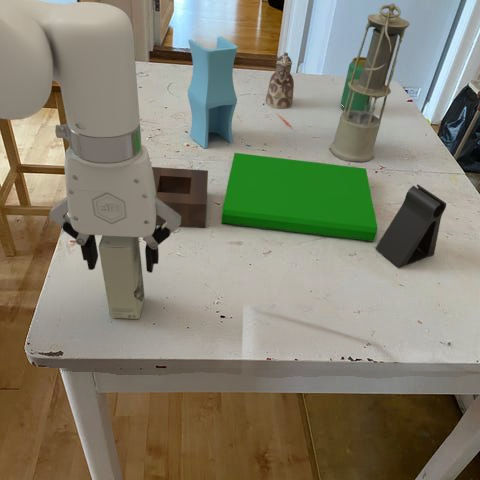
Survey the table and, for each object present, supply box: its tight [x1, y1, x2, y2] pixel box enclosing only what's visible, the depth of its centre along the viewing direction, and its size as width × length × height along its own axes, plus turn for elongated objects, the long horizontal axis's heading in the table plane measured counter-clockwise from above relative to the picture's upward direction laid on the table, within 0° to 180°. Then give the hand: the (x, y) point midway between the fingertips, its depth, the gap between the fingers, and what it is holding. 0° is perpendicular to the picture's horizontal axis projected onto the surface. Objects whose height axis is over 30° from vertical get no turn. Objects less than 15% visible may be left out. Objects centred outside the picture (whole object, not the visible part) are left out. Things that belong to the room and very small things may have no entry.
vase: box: [187, 36, 238, 150], centre depth 103 cm, size 8×8×20 cm
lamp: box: [329, 3, 411, 162], centre depth 100 cm, size 10×13×30 cm
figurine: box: [265, 52, 295, 110], centre depth 124 cm, size 7×7×12 cm
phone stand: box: [375, 183, 447, 269], centre depth 81 cm, size 9×6×12 cm, turn 121°
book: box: [221, 152, 378, 242], centre depth 93 cm, size 22×28×3 cm
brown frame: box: [152, 166, 209, 229], centre depth 87 cm, size 12×12×5 cm
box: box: [97, 235, 145, 320], centre depth 66 cm, size 5×4×13 cm
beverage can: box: [340, 56, 373, 111], centre depth 126 cm, size 8×8×12 cm
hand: (122, 264), depth 64 cm, fingers open, 7 cm apart
